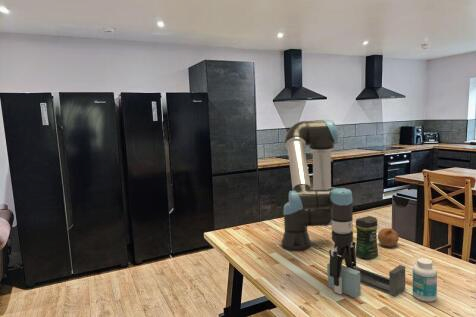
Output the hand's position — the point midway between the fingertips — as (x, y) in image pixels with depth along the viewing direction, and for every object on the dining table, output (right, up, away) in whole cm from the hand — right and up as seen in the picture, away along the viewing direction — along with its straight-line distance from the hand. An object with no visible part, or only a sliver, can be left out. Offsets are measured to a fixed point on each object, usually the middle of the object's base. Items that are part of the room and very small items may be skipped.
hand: (343, 289), depth 120 cm
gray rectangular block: (0, 0, 0) cm, 0 cm away
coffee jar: (+20, +4, +29) cm, 35 cm away
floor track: (+13, +1, +4) cm, 14 cm away
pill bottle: (+26, 0, -7) cm, 27 cm away
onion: (+35, +6, +39) cm, 53 cm away
